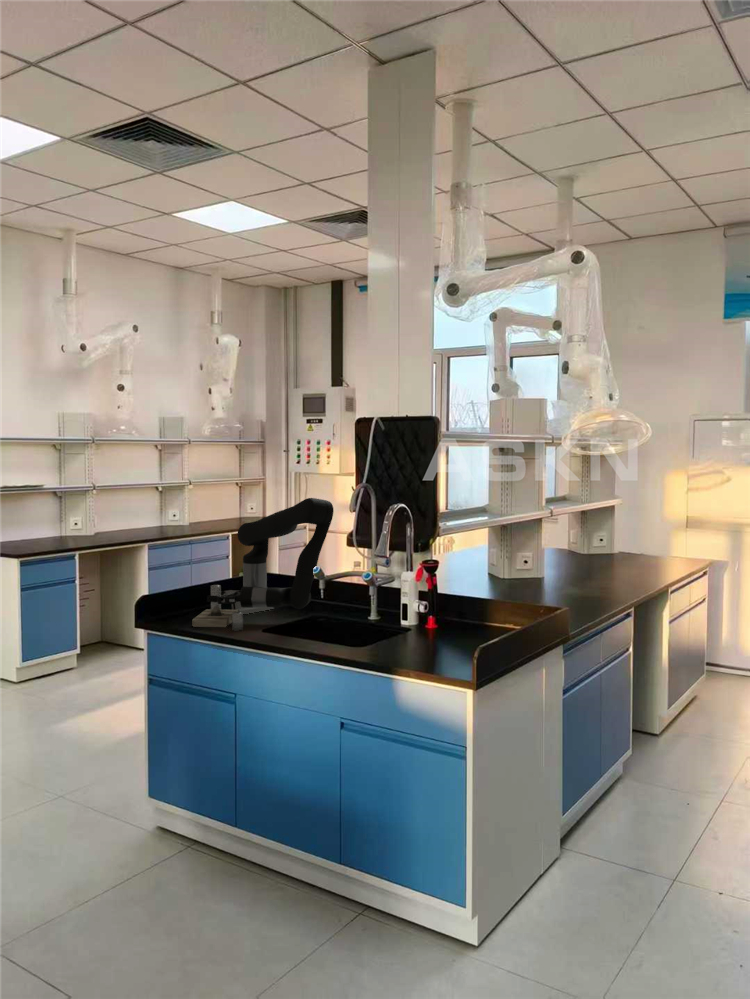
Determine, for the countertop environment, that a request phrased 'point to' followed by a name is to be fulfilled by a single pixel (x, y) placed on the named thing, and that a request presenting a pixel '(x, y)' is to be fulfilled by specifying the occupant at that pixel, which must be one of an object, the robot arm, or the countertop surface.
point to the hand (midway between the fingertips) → (210, 596)
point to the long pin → (214, 605)
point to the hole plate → (213, 619)
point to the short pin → (237, 621)
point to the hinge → (248, 610)
